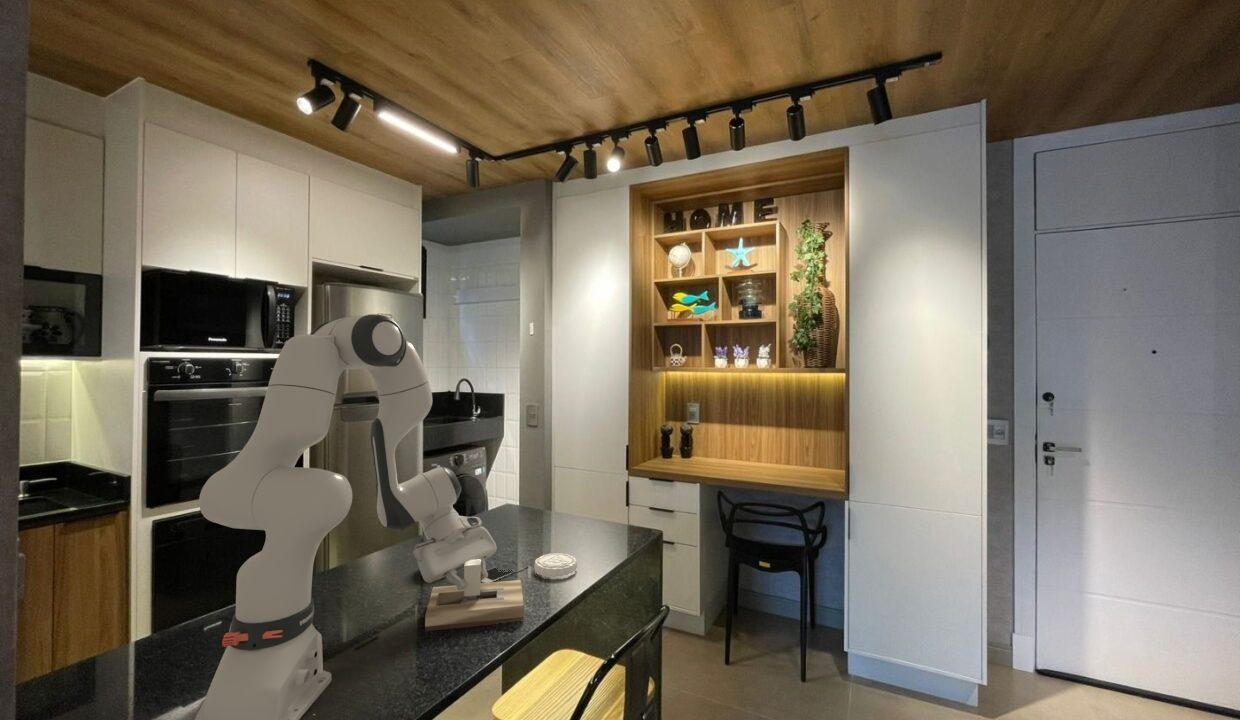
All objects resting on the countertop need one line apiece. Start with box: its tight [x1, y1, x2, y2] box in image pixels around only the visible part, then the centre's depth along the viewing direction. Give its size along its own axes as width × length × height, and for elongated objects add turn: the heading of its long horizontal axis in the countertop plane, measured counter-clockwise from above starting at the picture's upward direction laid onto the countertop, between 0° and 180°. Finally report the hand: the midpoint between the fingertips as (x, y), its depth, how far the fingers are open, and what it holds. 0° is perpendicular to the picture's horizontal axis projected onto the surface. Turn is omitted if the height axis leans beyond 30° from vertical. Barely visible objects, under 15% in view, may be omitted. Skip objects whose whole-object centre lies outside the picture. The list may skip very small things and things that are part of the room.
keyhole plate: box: [424, 579, 525, 632], centre depth 118 cm, size 14×21×4 cm, turn 104°
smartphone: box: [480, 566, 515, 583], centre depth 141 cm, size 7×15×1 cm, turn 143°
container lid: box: [533, 552, 578, 577], centre depth 143 cm, size 12×12×4 cm
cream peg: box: [461, 559, 482, 604], centre depth 118 cm, size 5×5×10 cm
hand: (474, 583), depth 118 cm, fingers closed on cream peg, 5 cm apart
